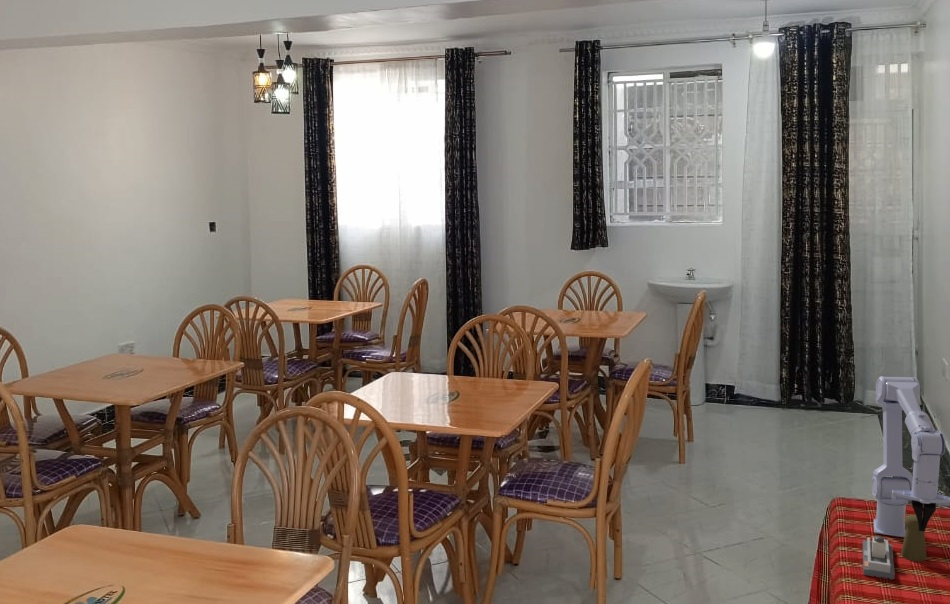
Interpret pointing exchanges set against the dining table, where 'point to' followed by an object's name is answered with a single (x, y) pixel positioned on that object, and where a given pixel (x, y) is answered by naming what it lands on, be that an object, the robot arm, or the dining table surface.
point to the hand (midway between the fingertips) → (921, 529)
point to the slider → (878, 547)
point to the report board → (877, 561)
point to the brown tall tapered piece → (913, 541)
